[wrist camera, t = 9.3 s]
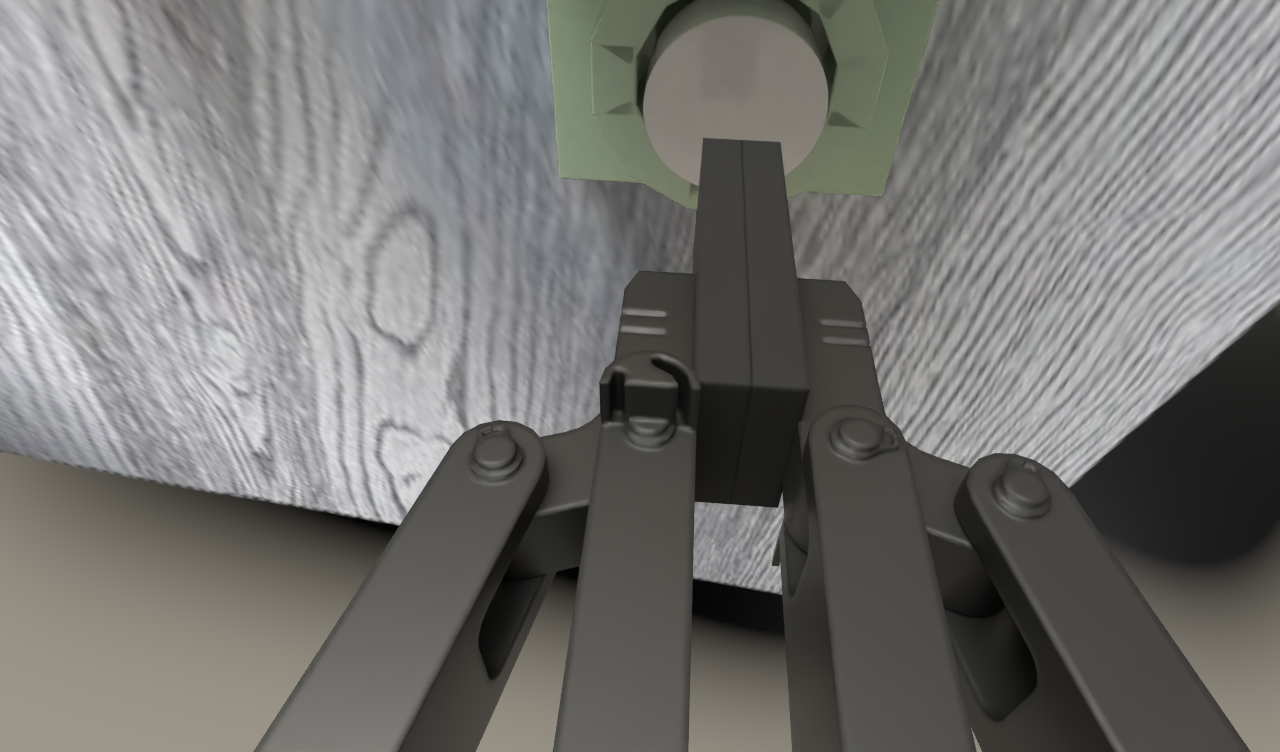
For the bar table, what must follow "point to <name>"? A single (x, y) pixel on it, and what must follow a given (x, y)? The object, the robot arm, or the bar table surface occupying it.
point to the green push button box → (618, 66)
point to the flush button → (734, 82)
